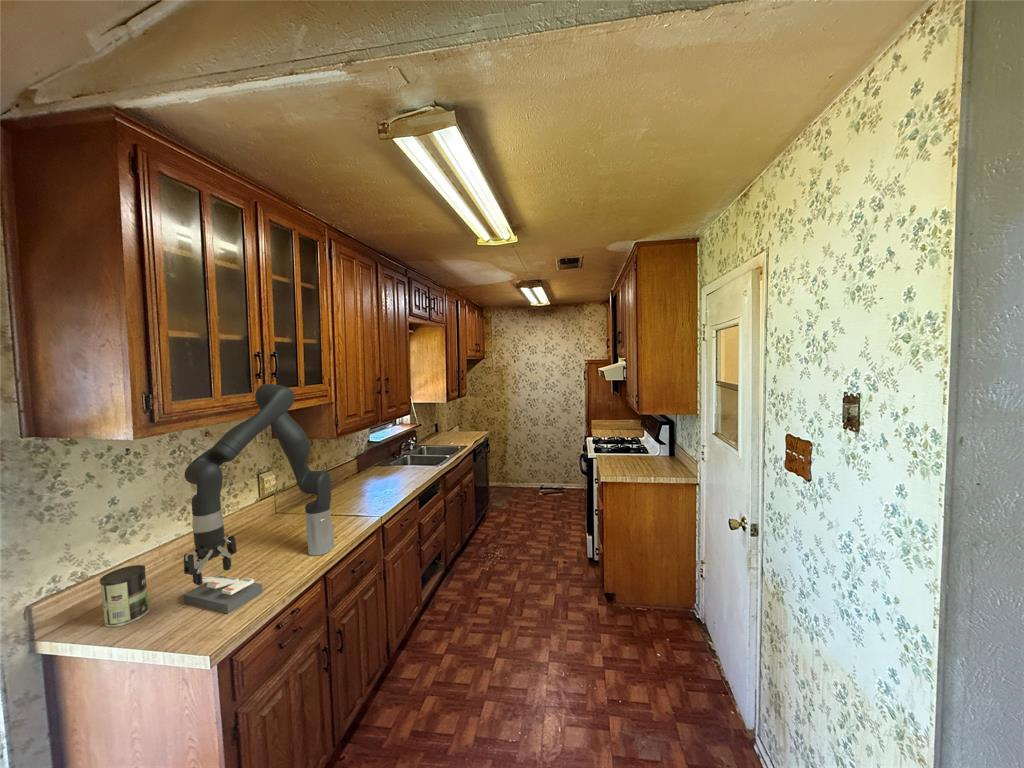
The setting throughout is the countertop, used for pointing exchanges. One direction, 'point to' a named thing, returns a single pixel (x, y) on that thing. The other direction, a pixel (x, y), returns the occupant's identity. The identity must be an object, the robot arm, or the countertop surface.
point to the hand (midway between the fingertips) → (213, 576)
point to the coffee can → (124, 595)
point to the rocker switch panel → (221, 597)
